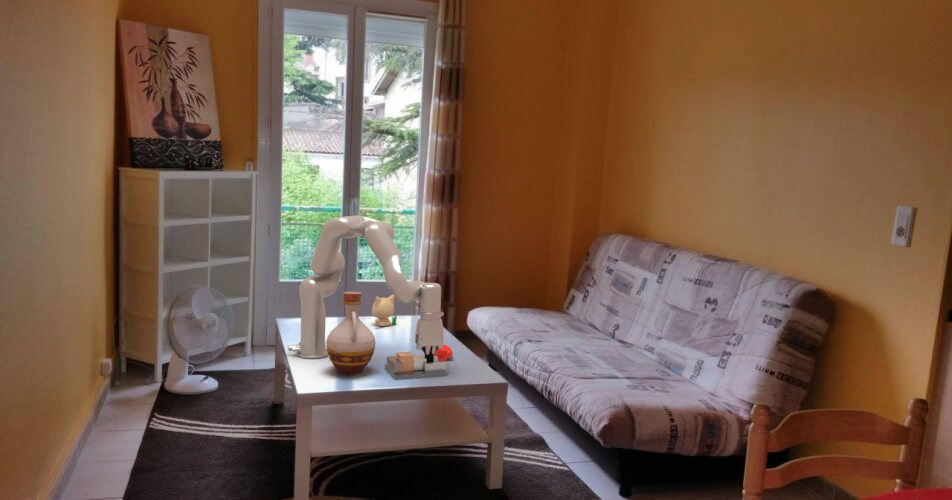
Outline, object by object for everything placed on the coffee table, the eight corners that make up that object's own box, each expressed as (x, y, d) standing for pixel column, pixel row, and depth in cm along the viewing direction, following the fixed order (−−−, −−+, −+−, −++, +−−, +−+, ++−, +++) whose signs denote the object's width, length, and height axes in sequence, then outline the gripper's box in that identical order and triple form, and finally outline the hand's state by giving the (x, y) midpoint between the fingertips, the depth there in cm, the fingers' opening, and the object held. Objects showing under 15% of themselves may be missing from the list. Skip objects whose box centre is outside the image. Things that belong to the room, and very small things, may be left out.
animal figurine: (445, 352, 298) (446, 340, 298) (455, 361, 284) (456, 349, 284) (418, 353, 295) (419, 341, 294) (428, 362, 281) (428, 350, 280)
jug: (378, 379, 255) (381, 297, 252) (328, 381, 250) (330, 297, 247) (370, 364, 274) (373, 287, 270) (323, 365, 269) (325, 287, 265)
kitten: (390, 322, 348) (391, 291, 346) (402, 326, 340) (403, 295, 339) (364, 325, 338) (365, 294, 336) (376, 329, 330) (377, 298, 329)
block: (399, 371, 261) (400, 355, 260) (395, 368, 265) (396, 352, 265) (412, 370, 263) (413, 355, 262) (408, 367, 267) (409, 351, 267)
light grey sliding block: (413, 370, 262) (413, 359, 262) (408, 365, 268) (408, 355, 267) (426, 369, 264) (426, 359, 264) (420, 365, 270) (421, 354, 269)
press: (395, 380, 256) (396, 365, 255) (384, 369, 268) (385, 354, 268) (447, 375, 264) (448, 361, 263) (434, 365, 277) (434, 351, 276)
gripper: (445, 313, 272) (443, 359, 274) (408, 315, 266) (407, 363, 268) (452, 316, 266) (451, 364, 268) (414, 319, 259) (413, 368, 261)
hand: (429, 363), depth 268 cm, fingers closed
